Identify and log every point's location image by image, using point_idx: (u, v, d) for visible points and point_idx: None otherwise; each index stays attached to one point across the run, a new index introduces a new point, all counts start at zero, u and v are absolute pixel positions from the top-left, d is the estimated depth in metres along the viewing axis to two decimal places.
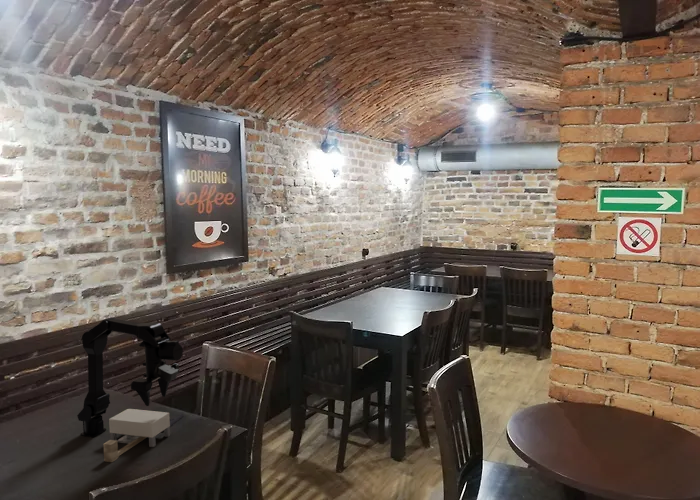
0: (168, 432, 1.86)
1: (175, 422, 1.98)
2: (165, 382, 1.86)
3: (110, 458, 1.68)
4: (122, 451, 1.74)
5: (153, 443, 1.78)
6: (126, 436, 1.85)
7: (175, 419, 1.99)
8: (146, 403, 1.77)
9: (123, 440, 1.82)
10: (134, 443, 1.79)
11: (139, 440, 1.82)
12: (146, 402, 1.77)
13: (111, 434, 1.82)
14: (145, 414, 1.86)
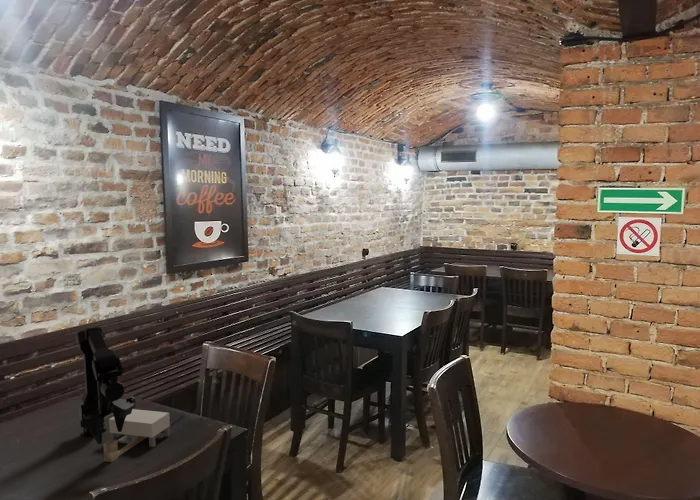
0: (168, 432, 1.86)
1: (175, 422, 1.98)
2: (121, 416, 1.73)
3: (110, 458, 1.68)
4: (122, 451, 1.74)
5: (153, 443, 1.78)
6: (126, 436, 1.85)
7: (175, 419, 1.99)
8: (98, 441, 1.64)
9: (123, 440, 1.82)
10: (134, 443, 1.79)
11: (139, 440, 1.82)
12: (98, 440, 1.64)
13: (111, 434, 1.82)
14: (145, 414, 1.86)
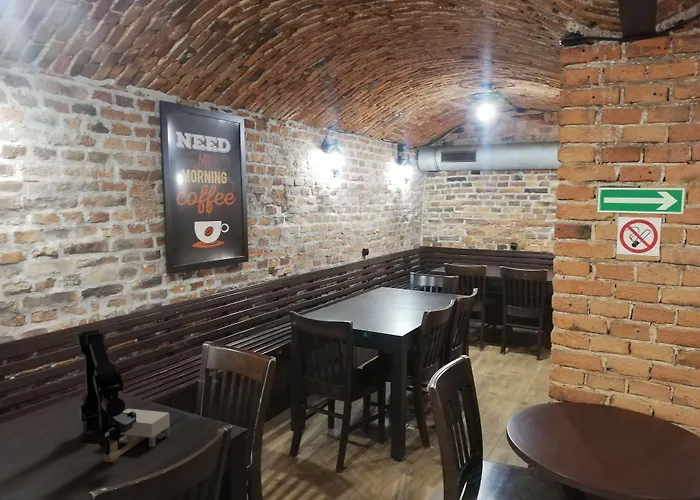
0: (168, 432, 1.86)
1: (175, 422, 1.98)
2: (116, 434, 1.70)
3: (110, 458, 1.68)
4: (122, 451, 1.74)
5: (153, 443, 1.78)
6: (126, 436, 1.85)
7: (175, 419, 1.99)
8: (106, 452, 1.67)
9: (123, 440, 1.82)
10: (134, 443, 1.79)
11: (139, 440, 1.82)
12: (106, 451, 1.67)
13: None
14: (145, 414, 1.86)
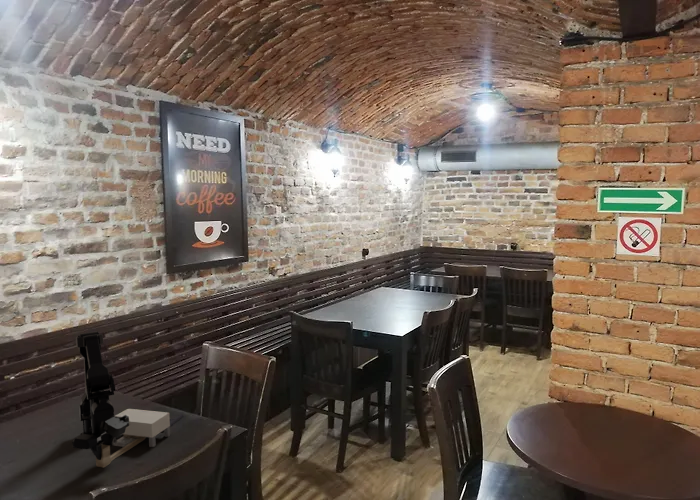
0: (168, 432, 1.86)
1: (175, 422, 1.98)
2: (108, 439, 1.67)
3: (102, 463, 1.64)
4: (115, 456, 1.70)
5: (153, 443, 1.78)
6: (122, 438, 1.83)
7: (175, 419, 1.99)
8: (98, 457, 1.63)
9: (119, 442, 1.80)
10: (128, 448, 1.76)
11: (133, 444, 1.78)
12: (98, 456, 1.63)
13: None
14: (145, 414, 1.86)
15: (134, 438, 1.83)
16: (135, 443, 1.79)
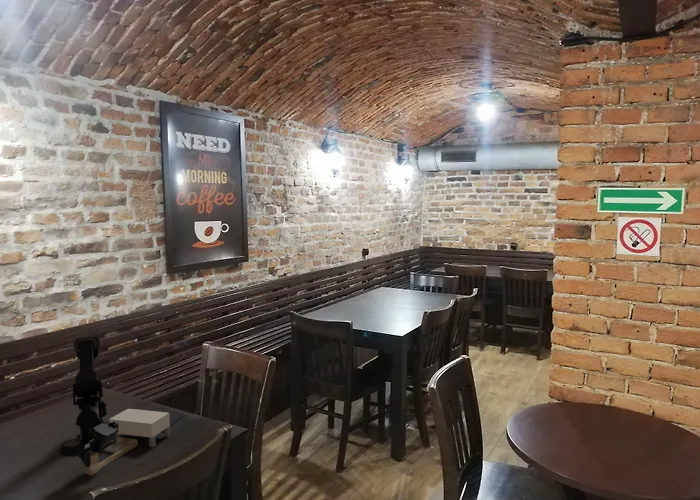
0: (168, 432, 1.86)
1: (175, 422, 1.98)
2: (97, 445, 1.62)
3: (90, 471, 1.59)
4: (104, 463, 1.65)
5: (153, 443, 1.78)
6: (114, 444, 1.78)
7: (175, 419, 1.99)
8: (86, 464, 1.59)
9: (110, 449, 1.75)
10: (118, 454, 1.71)
11: (124, 451, 1.74)
12: (86, 463, 1.59)
13: None
14: (145, 414, 1.86)
15: (126, 444, 1.78)
16: (126, 449, 1.75)
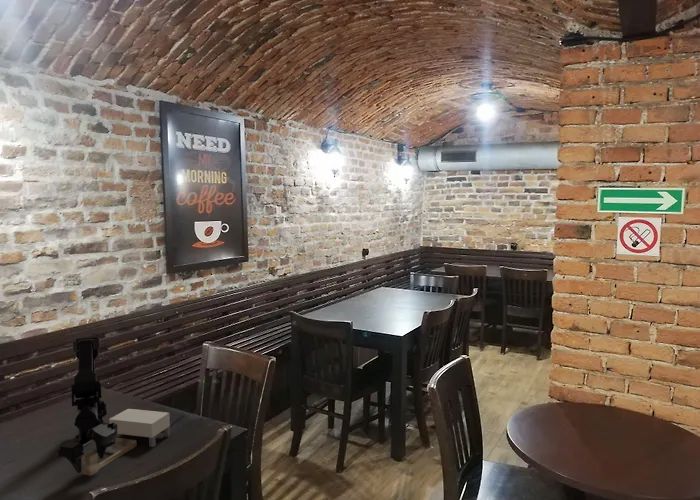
0: (168, 432, 1.86)
1: (175, 422, 1.98)
2: None
3: (89, 471, 1.59)
4: (103, 464, 1.65)
5: (153, 443, 1.78)
6: (113, 445, 1.78)
7: (175, 419, 1.99)
8: (77, 470, 1.56)
9: (109, 450, 1.75)
10: (117, 455, 1.71)
11: (123, 452, 1.73)
12: (77, 469, 1.55)
13: None
14: (145, 414, 1.86)
15: (125, 445, 1.78)
16: (125, 450, 1.74)
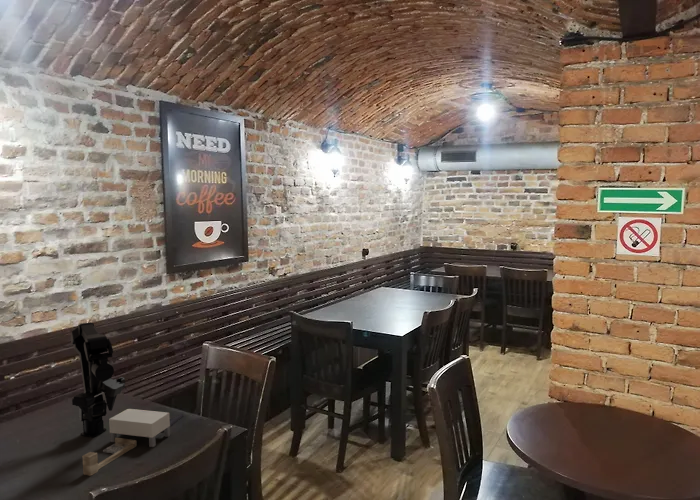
0: (168, 432, 1.86)
1: (175, 422, 1.98)
2: None
3: (89, 471, 1.59)
4: (103, 464, 1.65)
5: (153, 443, 1.78)
6: (113, 445, 1.78)
7: (175, 419, 1.99)
8: (89, 418, 1.72)
9: (109, 450, 1.75)
10: (117, 455, 1.71)
11: (123, 452, 1.73)
12: (89, 417, 1.72)
13: (111, 434, 1.82)
14: (145, 414, 1.86)
15: (125, 445, 1.78)
16: (125, 450, 1.74)
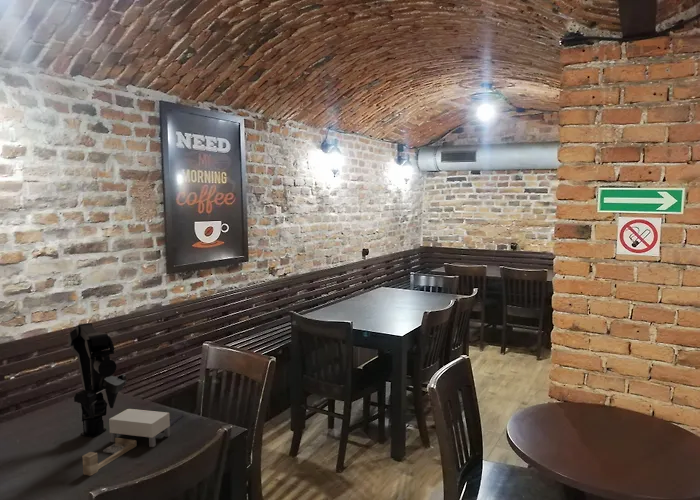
0: (168, 432, 1.86)
1: (175, 422, 1.98)
2: (113, 393, 1.83)
3: (89, 471, 1.59)
4: (103, 464, 1.65)
5: (153, 443, 1.78)
6: (113, 445, 1.78)
7: (175, 419, 1.99)
8: (91, 415, 1.74)
9: (109, 450, 1.75)
10: (117, 455, 1.71)
11: (123, 452, 1.73)
12: (91, 414, 1.74)
13: (111, 434, 1.82)
14: (145, 414, 1.86)
15: (125, 445, 1.78)
16: (125, 450, 1.74)
